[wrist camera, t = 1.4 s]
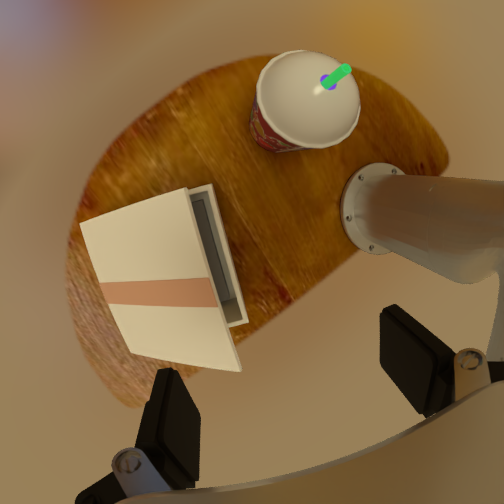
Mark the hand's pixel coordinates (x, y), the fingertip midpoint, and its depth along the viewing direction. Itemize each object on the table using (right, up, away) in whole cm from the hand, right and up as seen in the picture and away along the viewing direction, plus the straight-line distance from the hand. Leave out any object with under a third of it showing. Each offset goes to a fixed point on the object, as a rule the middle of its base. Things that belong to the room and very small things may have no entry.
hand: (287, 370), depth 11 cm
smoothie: (+1, +20, +21) cm, 29 cm away
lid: (-11, +1, +13) cm, 17 cm away
